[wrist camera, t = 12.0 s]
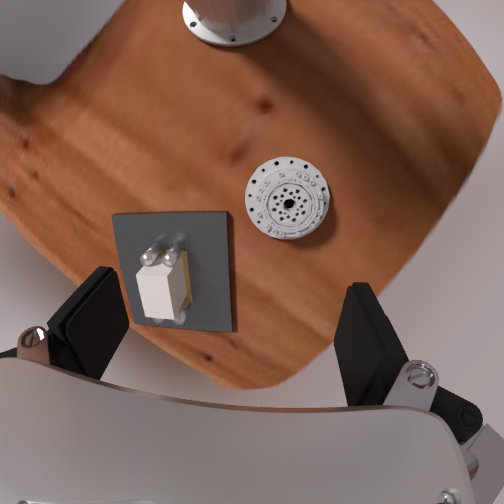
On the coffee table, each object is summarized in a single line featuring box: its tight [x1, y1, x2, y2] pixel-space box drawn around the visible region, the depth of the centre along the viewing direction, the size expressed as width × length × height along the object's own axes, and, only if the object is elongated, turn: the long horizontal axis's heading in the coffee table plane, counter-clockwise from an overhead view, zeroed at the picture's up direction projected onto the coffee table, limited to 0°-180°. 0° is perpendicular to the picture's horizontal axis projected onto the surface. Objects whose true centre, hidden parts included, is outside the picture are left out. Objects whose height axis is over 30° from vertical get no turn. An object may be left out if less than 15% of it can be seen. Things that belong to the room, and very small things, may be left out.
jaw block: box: [136, 254, 187, 320], centre depth 34 cm, size 6×4×6 cm, turn 0°
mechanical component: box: [245, 157, 330, 239], centre depth 31 cm, size 10×4×10 cm
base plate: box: [112, 211, 233, 332], centre depth 35 cm, size 18×16×5 cm
